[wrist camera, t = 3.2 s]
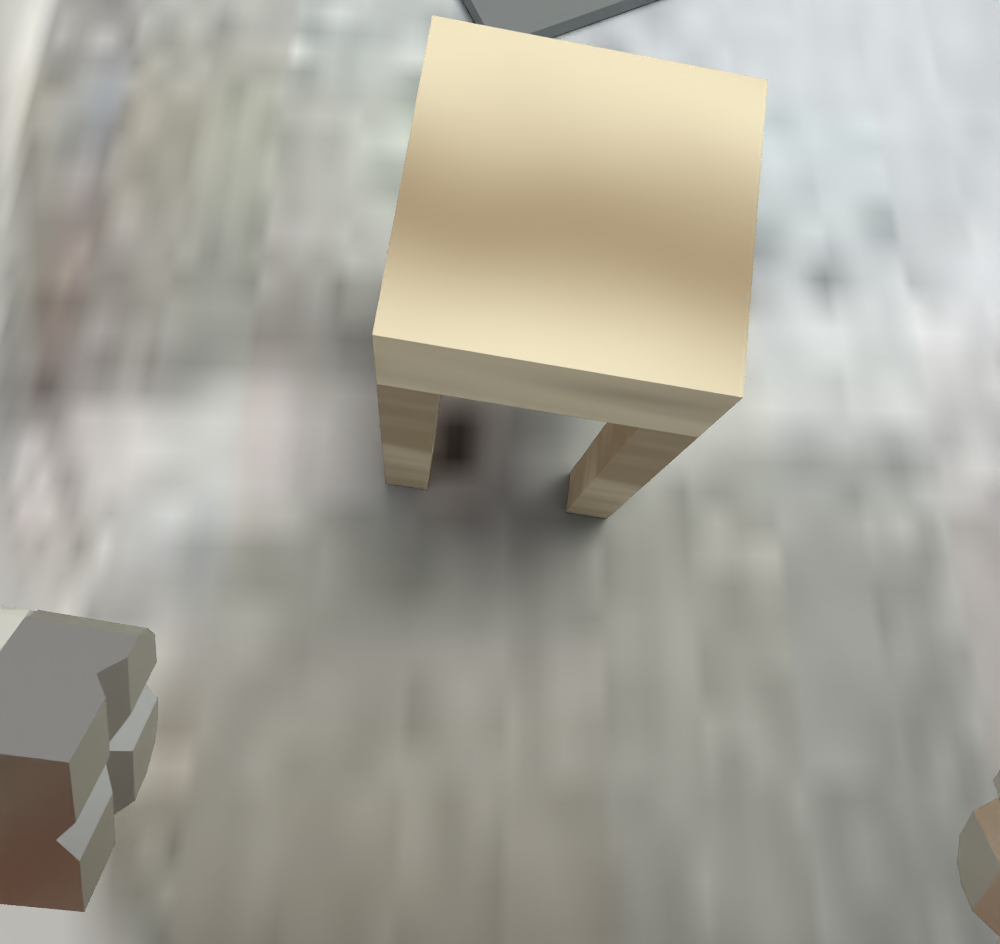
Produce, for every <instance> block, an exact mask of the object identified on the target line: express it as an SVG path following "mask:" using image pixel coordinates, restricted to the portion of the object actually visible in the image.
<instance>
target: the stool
mask: <svg viewBox="0 0 1000 944" xmlns="http://www.w3.org/2000/svg"><path fill="white" fill-rule="evenodd" d="M766 93H767V80H766V79H761V78H755V77H750V76H745V75H740V74H735V73H729V72H724V71H719V70H714V69H708V68H703V67H698V66H693V65H688V64H682V63H677V62H672V61H667V60H662V59H656V58H651V57H646V56H641V55H636V54H630V53H625V52H620V51H615V50H610V49H604V48H599V47H594V46H589V45H584V44H578V43H573V42H568V41H563V40H558V39H552V38H547V37H542V36H537V35H532V34H526V33H521V32H516V31H511V30H506V29H500V28H495V27H490V26H485V25H480V24H474V23H469V22H464V21H459V20H454V19H448V18H443V17H438V16H433V15H432V20H431V25H430V31H429V36H428V41H427V47H426V52H425V57H424V63H423V68H422V73H421V79H420V84H419V89H418V95H417V100H416V105H415V110H414V116H413V121H412V126H411V132H410V137H409V142H408V148H407V153H406V158H405V164H404V169H403V174H402V180H401V185H400V190H399V196H398V201H397V206H396V212H395V217H394V222H393V227H392V233H391V238H390V243H389V249H388V254H387V259H386V265H385V270H384V275H383V281H382V286H381V291H380V297H379V302H378V307H377V313H376V318H375V323H374V329H373V334H372V336H373V348H374V359H375V371H376V382H377V394H378V405H379V416H380V428H381V439H382V451H383V462H384V474H385V483H387V484H393V485H400V486H406V487H412V488H419V489H425V490H427V489H428V483H429V477H430V471H431V465H432V459H433V453H434V446H435V437H436V429H437V421H438V412H439V404H440V395H446V396H452V397H458V398H464V399H470V400H476V401H482V402H488V403H494V404H500V405H506V406H512V407H518V408H524V409H530V410H536V411H542V412H548V413H554V414H560V415H566V416H573V417H579V418H585V419H591V420H597V421H603V422H607V423H606V425H605V426H604V427H603V429H602V430H601V431H600V433H599V434H598V435H597V437H596V438H595V440H594V441H593V442H592V444H591V445H590V446H589V448H588V449H587V450H586V452H585V453H584V455H583V456H582V457H581V459H580V460H579V461H578V463H577V464H576V465H575V467H574V468H573V470H572V471H571V475H570V483H569V491H568V499H567V507H566V512H569V513H575V514H582V515H588V516H594V517H601V518H608V517H609V516H610V515H611V514H613V513H614V512H615V511H616V510H617V509H618V508H619V507H620V506H621V505H623V504H624V503H625V502H626V501H627V500H628V499H629V498H630V497H632V496H633V495H634V494H635V493H636V492H637V491H638V490H639V489H641V488H642V487H643V486H644V485H645V484H646V483H647V482H648V481H650V480H651V479H652V478H653V477H654V476H655V475H656V474H657V473H659V472H660V471H661V470H662V469H663V468H664V467H665V466H666V465H668V464H669V463H670V462H671V461H672V460H673V459H674V458H675V457H677V456H678V455H679V454H680V453H681V452H682V451H683V450H684V449H686V448H687V447H688V446H689V445H690V444H691V443H692V442H693V441H695V440H696V439H697V438H698V437H699V436H700V435H701V434H702V433H704V432H705V431H706V430H707V429H708V428H709V427H710V426H711V425H713V424H714V423H715V422H716V421H717V420H718V419H719V418H720V417H722V416H723V415H724V414H725V413H726V412H727V411H728V410H729V409H731V408H732V407H733V406H734V405H735V404H736V403H737V402H738V401H740V400H741V399H742V398H743V390H744V377H745V364H746V351H747V338H748V325H749V313H750V300H751V287H752V274H753V261H754V248H755V235H756V222H757V209H758V196H759V184H760V171H761V158H762V145H763V132H764V119H765V106H766Z"/></svg>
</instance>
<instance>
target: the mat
mask: <svg viewBox="0 0 1000 944" xmlns="http://www.w3.org/2000/svg"><path fill="white" fill-rule="evenodd" d="M654 1H657V0H463V2H464V4H465V6H466V7H467V9H468V11H469V13H470V15H471V17H472V19H473V20H474V22H475V24H480V25H485V26H490V27H495V28H500V29H506V30H511V31H516V32H521V33H526V34H532V35H537V36H542V37H547V38H552V37H555V36H558V35H561V34H564V33H566V32H569V31H572V30H575V29H578V28H580V27H583V26H586V25H589V24H592V23H595V22H597V21H600V20H603V19H606V18H609V17H611V16H614V15H617V14H620V13H623V12H626V11H628V10H631V9H634V8H637V7H640V6H642V5H645V4H648V3H651V2H654Z"/></svg>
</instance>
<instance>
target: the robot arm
mask: <svg viewBox="0 0 1000 944" xmlns="http://www.w3.org/2000/svg"><path fill="white" fill-rule="evenodd" d="M156 662H157V659H156V644H155V634H154V633H153V632H152V631H151V630H149V629H148V628H143V627H137V626H131V625H125V624H119V623H113V622H107V621H101V620H95V619H89V618H83V617H77V616H71V615H65V614H59V613H53V612H47V611H41V610H38V611H32V610H27V609H21V608H15V607H10V606H4V605H0V904H7V905H17V906H28V907H38V908H49V909H60V910H70V911H80V912H84V911H85V909H86V907H87V905H88V903H89V900H90V898H91V896H92V894H93V892H94V889H95V887H96V885H97V883H98V881H99V878H100V876H101V874H102V872H103V870H104V867H105V865H106V863H107V861H108V859H109V856H110V854H111V852H112V850H113V848H114V845H115V826H114V814H116V813H117V812H119V811H120V810H122V809H123V808H124V807H126V806H127V805H129V804H130V803H132V802H133V801H135V798H136V796H137V794H138V791H139V789H140V787H141V784H142V782H143V780H144V777H145V775H146V772H147V769H148V765H149V762H150V758H151V754H152V751H153V747H154V744H155V738H156V730H157V721H158V697H157V696H156V695H155V694H154V693H153V692H152V690H151V689H150V688H149V687H148V686H147V685H146V682H147V680H148V678H149V676H150V674H151V672H152V670H153V668H154V666H155V664H156ZM993 781H994V785H995V788H996V791H997V795H998V798H997V799H995V800H993V801H991V802H989V803H987V804H986V805H984V806H982V807H980V808H978V809H976V810H975V811H973V812H972V814H971V816H970V818H969V819H968V821H967V823H966V825H965V826H964V828H963V830H962V832H961V833H960V837H959V848H958V858H957V865H958V870H959V875H960V880H961V885H962V888H963V890H964V893H965V895H966V897H967V900H968V902H969V904H970V907H971V909H972V911H973V912H974V913H975V914H976V915H977V916H978V917H979V918H980V919H981V920H982V921H983V922H984V923H986V924H987V925H988V926H989V927H990V928H991V929H992V930H993V931H994V932H995V933H996V934H997V935H998V939H997V942H996V944H1000V771H999V772H998V774H997V775H996V777H995V778H994V780H993Z"/></svg>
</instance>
